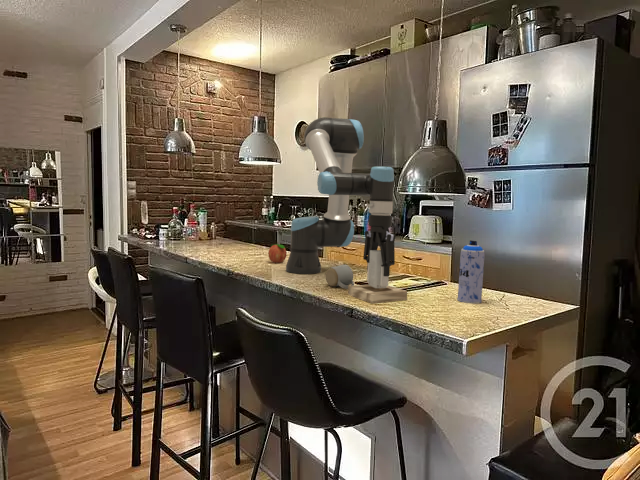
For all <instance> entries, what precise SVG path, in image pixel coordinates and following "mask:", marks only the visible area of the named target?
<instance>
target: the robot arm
mask: <svg viewBox="0 0 640 480" xmlns="http://www.w3.org/2000/svg"><path fill="white" fill-rule="evenodd" d="M303 138H304V139H303V141H304V142H305V146H306V147H307V149H308V150H309V151H311V154H312V156H313V159H314V162H315V164H316V167H317V169H318V172H319V173H318V175H317V181H316V182H317V184H316V185H317V191H318V193H320V194H322V195H327V196H328V204H327V212H325V213H324V214H323V219H320V218H319V216H316V215H315V216H303V217H296V218H294V219H292V221H291V225H290V253H289V255H288V259H287V261H286V265H285V271H286V272H287V273H292V274H297V275H298V274H302V275H303V274H304V275H311V274H319V273H321V272H322V264H321V261H320V257H319V252H318V250H319V249H318V248H319V247H320V248H326V247H328V248H334V247H335V248H342V247H348V246H349V245H350V244H351V243H352V240H353V238H354V234H355V224H354V222H353V220H351V216H350V215H349V213H348V212H349V211H348V210H349V200H350V196H362V197H363V196H364V197H369V208H368V210H369V211H368V212H369V216H368V226H369V227H370V230H365V231H364V236H365V237H364V238H365V239H364V245H363V247H364V249H363V258H362V259H363V260H364V261H366V263H367V264H366V265H367V266H366V271H367V273H366V282H367V283H369V261H370V250H378V248H379V250H380V251H381V257H382V263H383V265H381V278H380V286H389V278H390V273H391V272H390V271H391V270H390V269H391V266H394V265H395V263H396V260H395V258H396V257H395V256H396V254H395V252H396V251H395V240H396V234H392V233H390V228H391V227H392V225H393V216H392V214H393V207H394V206H393V205H394V203H393V201H394V200H393V199H394V184H395V183H394V182H395V177H394V176H395V174H394V173H395V171H394V168H393V167H391V166H372V167H371V168H370V173H362V172H361V173H359V172H358V173H357V172H355V173H354V172H352V170H353V161H354V160H353V159H354V158H355V156H356V155H358V150H361V149H362V148H363V145H364V141H365V137H364V128H363V125H362V123H361V122H360V121H359V120H358V119H357V120H356V119H351V118H341V117H340V118H338V117H337V118H336V117H319V118H316V119H314V120H313V121H311V122H310V123H309V124H308V125H307V127H306V128H305V131H304V135H303Z"/></svg>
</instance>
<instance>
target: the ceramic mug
mask: <svg viewBox="0 0 640 480" xmlns="http://www.w3.org/2000/svg"><path fill="white" fill-rule="evenodd" d="M324 275H325V276H324V277H325V278H324V279H325V282H326V284H327V285H328V286H330V287H331V288H333V287H334V288H335V287H337V288H338V287H340V288H342V289H344V290H348V286H355V282H354V271H353V269H352V268H351V267H350V265H348V264H342V265H341V264H340V265H336V266H332V267H329V268H328V269H326V271H325V274H324Z"/></svg>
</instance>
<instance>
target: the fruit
mask: <svg viewBox="0 0 640 480" xmlns="http://www.w3.org/2000/svg"><path fill="white" fill-rule="evenodd" d="M286 258H287V250H286V247H285V245H283V244H279V241H276V243H275V244H269V249H268V259H269V261H270V262H272V263H274V264H281V263H283V262H284V261H285V260H286Z"/></svg>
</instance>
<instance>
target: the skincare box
mask: <svg viewBox="0 0 640 480" xmlns="http://www.w3.org/2000/svg"><path fill="white" fill-rule="evenodd" d="M381 265H383V263H382V257H381V251H380V249H377V250H370V261H369V282H367V283H368V284H367V285H369V286H371V287H374V288H387V286H380V278H381Z"/></svg>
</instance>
